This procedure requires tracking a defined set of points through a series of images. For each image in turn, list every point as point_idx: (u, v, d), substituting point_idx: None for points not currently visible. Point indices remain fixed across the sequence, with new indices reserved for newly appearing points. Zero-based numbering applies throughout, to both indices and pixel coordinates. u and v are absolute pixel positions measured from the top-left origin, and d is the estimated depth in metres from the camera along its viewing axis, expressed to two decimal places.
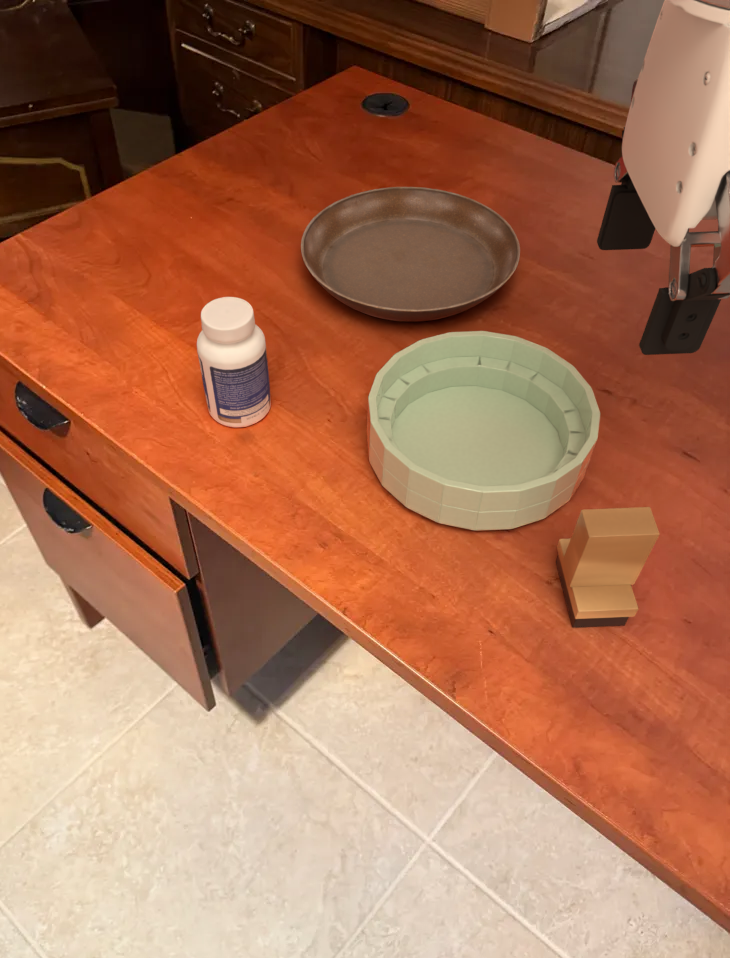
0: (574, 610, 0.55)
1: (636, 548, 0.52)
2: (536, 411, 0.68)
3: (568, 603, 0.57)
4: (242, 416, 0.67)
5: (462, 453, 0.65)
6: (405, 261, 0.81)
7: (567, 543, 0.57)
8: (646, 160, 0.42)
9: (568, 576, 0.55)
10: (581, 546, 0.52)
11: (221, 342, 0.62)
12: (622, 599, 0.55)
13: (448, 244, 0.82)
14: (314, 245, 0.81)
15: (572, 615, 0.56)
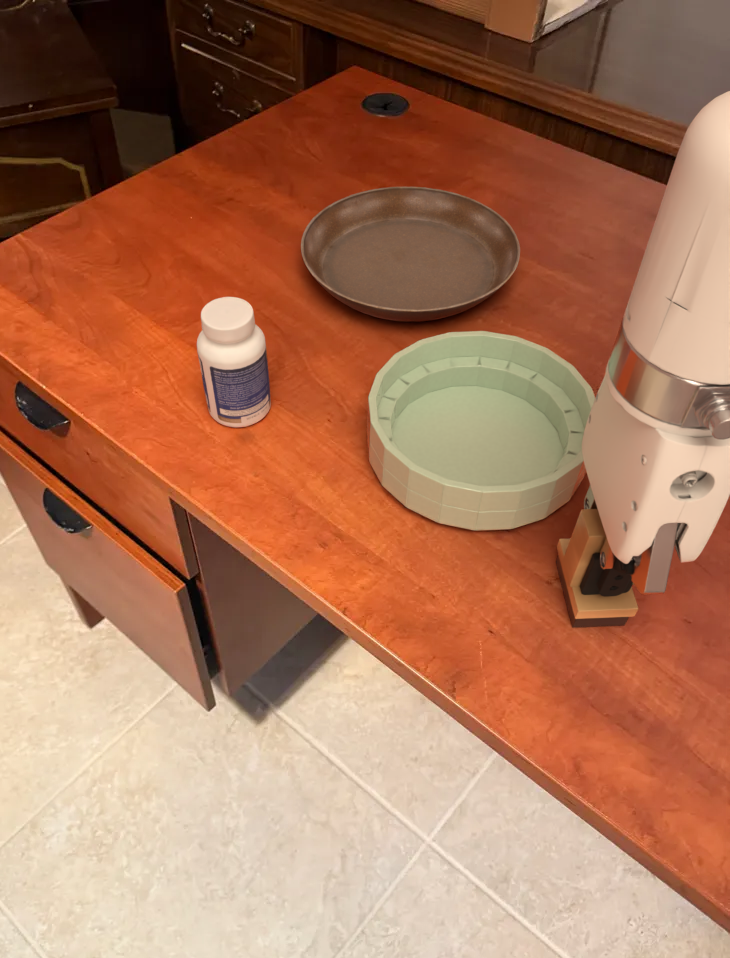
0: (574, 610, 0.55)
1: None
2: (536, 411, 0.68)
3: (568, 603, 0.57)
4: (242, 416, 0.67)
5: (462, 453, 0.65)
6: (405, 261, 0.81)
7: (567, 543, 0.57)
8: (599, 481, 0.48)
9: (568, 576, 0.55)
10: (581, 546, 0.52)
11: (221, 342, 0.62)
12: (622, 599, 0.55)
13: (448, 244, 0.82)
14: (314, 245, 0.81)
15: (572, 615, 0.56)
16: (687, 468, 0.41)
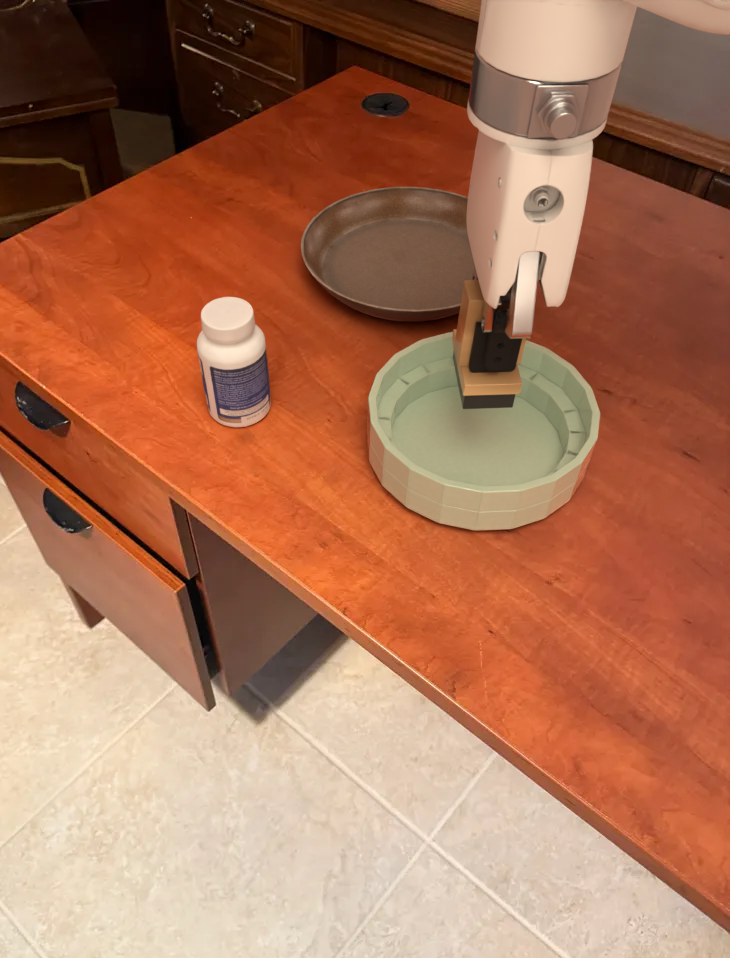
0: (462, 387, 0.58)
1: None
2: (536, 411, 0.68)
3: (460, 388, 0.60)
4: (242, 416, 0.67)
5: (462, 453, 0.65)
6: (405, 261, 0.81)
7: None
8: (474, 236, 0.51)
9: (457, 356, 0.58)
10: (464, 316, 0.55)
11: (221, 342, 0.62)
12: (507, 376, 0.57)
13: (448, 244, 0.82)
14: (314, 245, 0.81)
15: (462, 396, 0.59)
16: (536, 183, 0.43)
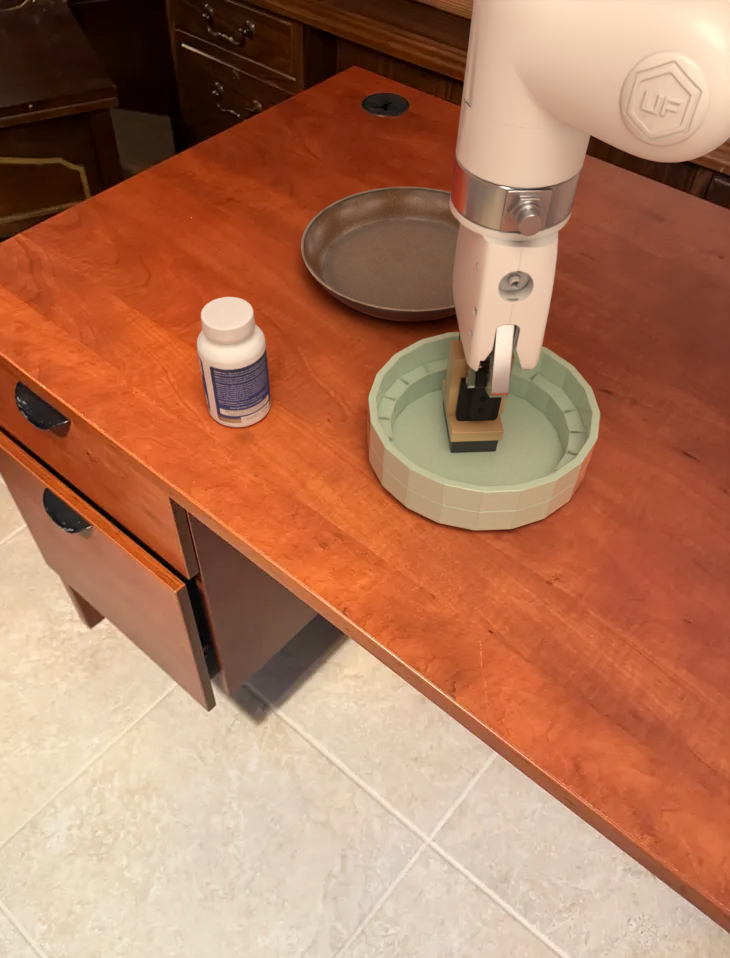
0: (450, 434, 0.64)
1: None
2: (536, 411, 0.68)
3: (448, 433, 0.66)
4: (242, 416, 0.67)
5: (462, 453, 0.65)
6: (405, 261, 0.81)
7: None
8: (458, 305, 0.57)
9: (445, 406, 0.64)
10: (451, 372, 0.61)
11: (221, 342, 0.62)
12: (490, 424, 0.64)
13: (448, 244, 0.82)
14: (314, 245, 0.81)
15: (450, 441, 0.65)
16: (509, 269, 0.50)
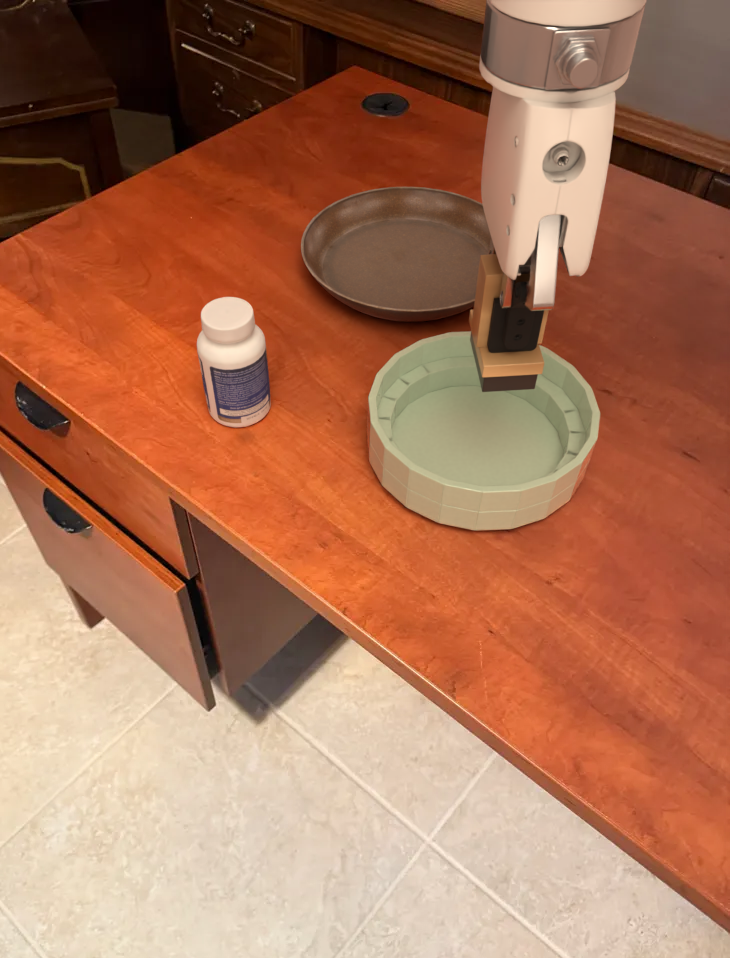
0: (481, 369, 0.55)
1: None
2: (536, 411, 0.68)
3: (478, 370, 0.57)
4: (242, 416, 0.67)
5: (462, 453, 0.65)
6: (405, 261, 0.81)
7: None
8: (490, 205, 0.48)
9: (475, 337, 0.55)
10: (481, 292, 0.52)
11: (221, 342, 0.62)
12: (528, 355, 0.54)
13: (448, 244, 0.82)
14: (314, 245, 0.81)
15: (481, 379, 0.56)
16: (556, 139, 0.41)
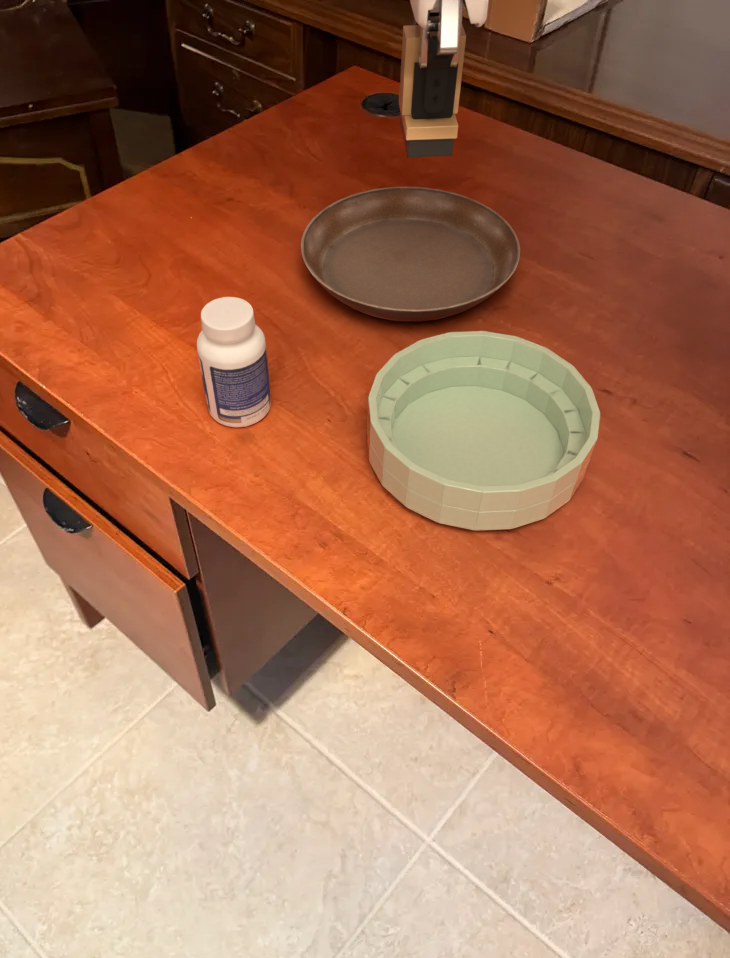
0: (405, 133, 0.64)
1: None
2: (536, 411, 0.68)
3: (405, 141, 0.66)
4: (242, 416, 0.67)
5: (462, 453, 0.65)
6: (405, 261, 0.81)
7: None
8: None
9: (401, 107, 0.65)
10: (404, 58, 0.62)
11: (221, 342, 0.62)
12: (445, 121, 0.64)
13: (448, 244, 0.82)
14: (314, 245, 0.81)
15: (406, 145, 0.65)
16: None
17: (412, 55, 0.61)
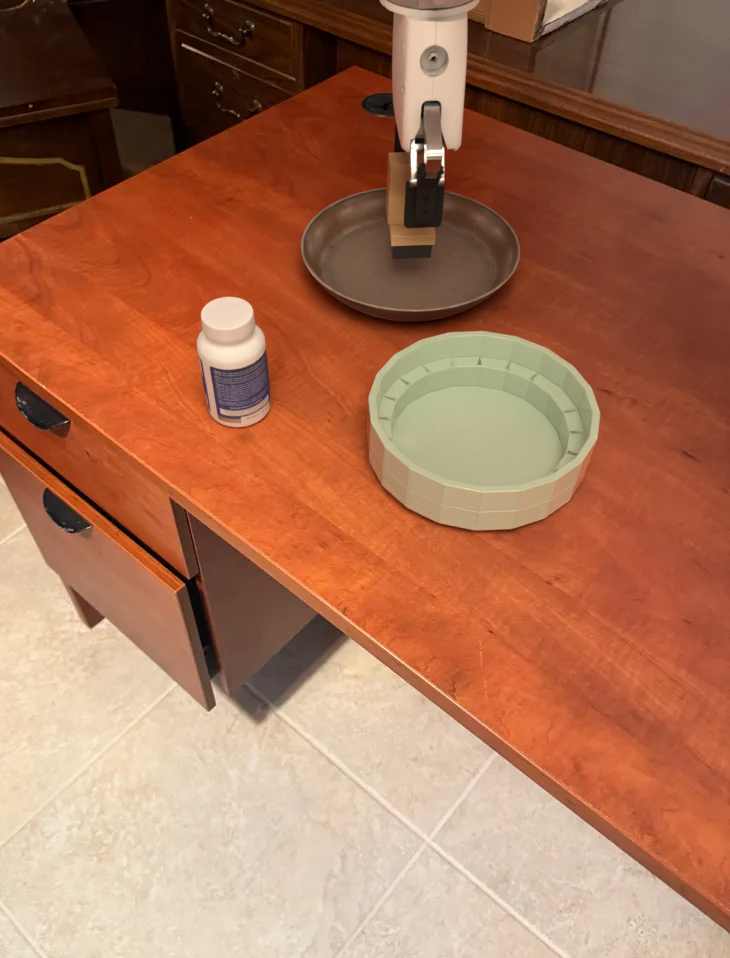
0: (390, 240, 0.75)
1: None
2: (536, 411, 0.68)
3: (390, 244, 0.77)
4: (242, 416, 0.67)
5: (462, 453, 0.65)
6: (405, 261, 0.81)
7: None
8: (394, 101, 0.67)
9: (387, 217, 0.75)
10: (389, 180, 0.72)
11: (221, 342, 0.62)
12: (424, 230, 0.75)
13: (448, 244, 0.82)
14: (314, 245, 0.81)
15: (391, 249, 0.76)
16: (427, 43, 0.60)
17: (396, 178, 0.72)
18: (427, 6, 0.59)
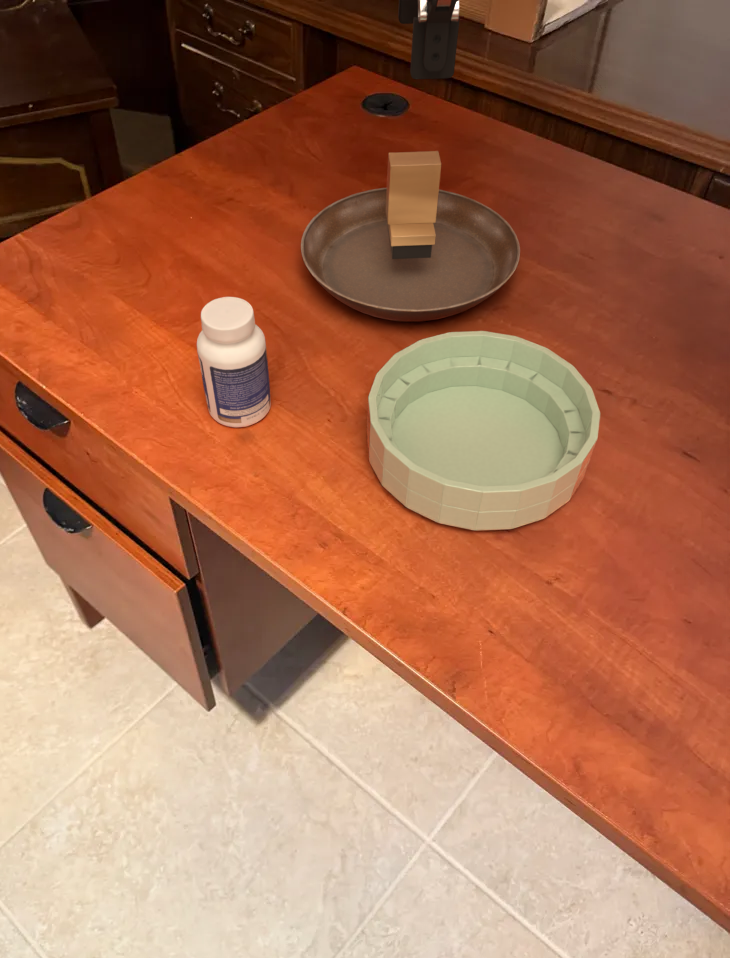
0: (390, 240, 0.75)
1: (428, 180, 0.72)
2: (536, 411, 0.68)
3: (390, 244, 0.77)
4: (242, 416, 0.67)
5: (462, 453, 0.65)
6: (405, 261, 0.81)
7: None
8: None
9: (387, 217, 0.75)
10: (389, 180, 0.72)
11: (221, 342, 0.62)
12: (424, 230, 0.75)
13: (448, 244, 0.82)
14: (314, 245, 0.81)
15: (391, 249, 0.76)
16: None
17: (396, 178, 0.72)
18: None
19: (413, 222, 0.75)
